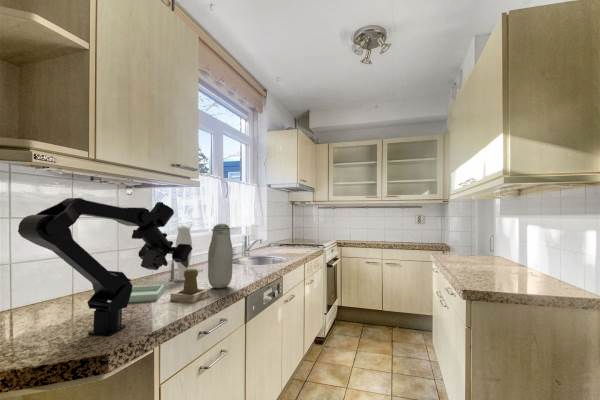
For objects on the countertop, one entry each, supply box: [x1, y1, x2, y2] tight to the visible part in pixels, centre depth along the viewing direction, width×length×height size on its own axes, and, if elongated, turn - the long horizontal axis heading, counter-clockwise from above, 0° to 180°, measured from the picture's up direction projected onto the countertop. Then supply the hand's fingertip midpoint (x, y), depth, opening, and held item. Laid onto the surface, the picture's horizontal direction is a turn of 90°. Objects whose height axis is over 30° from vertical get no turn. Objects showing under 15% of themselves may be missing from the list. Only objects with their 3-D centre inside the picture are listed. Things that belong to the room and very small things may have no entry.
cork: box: [183, 268, 199, 295], centre depth 113 cm, size 6×6×11 cm
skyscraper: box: [169, 221, 193, 283], centre depth 145 cm, size 8×8×28 cm
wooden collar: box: [169, 288, 210, 304], centre depth 113 cm, size 10×10×2 cm
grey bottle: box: [207, 223, 234, 289], centre depth 130 cm, size 10×10×28 cm
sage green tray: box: [128, 284, 166, 304], centre depth 114 cm, size 15×15×2 cm
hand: (177, 265), depth 106 cm, fingers open, 9 cm apart
